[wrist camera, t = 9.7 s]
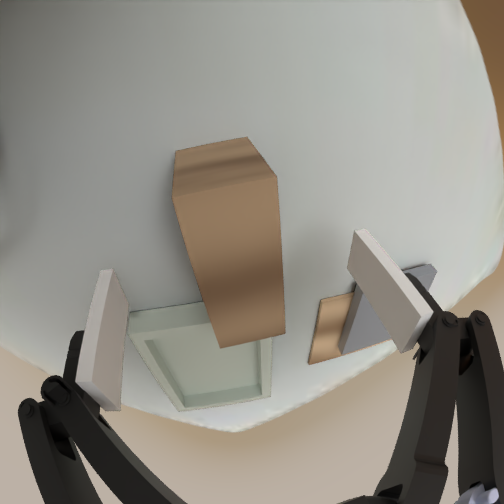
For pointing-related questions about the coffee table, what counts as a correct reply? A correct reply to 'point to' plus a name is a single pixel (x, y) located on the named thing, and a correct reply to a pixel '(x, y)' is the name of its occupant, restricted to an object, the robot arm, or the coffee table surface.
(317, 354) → the cork mat
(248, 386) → the tray
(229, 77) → the coffee table surface
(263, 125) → the coffee table surface
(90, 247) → the coffee table surface
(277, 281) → the block
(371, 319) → the grey square tile
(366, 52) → the coffee table surface
